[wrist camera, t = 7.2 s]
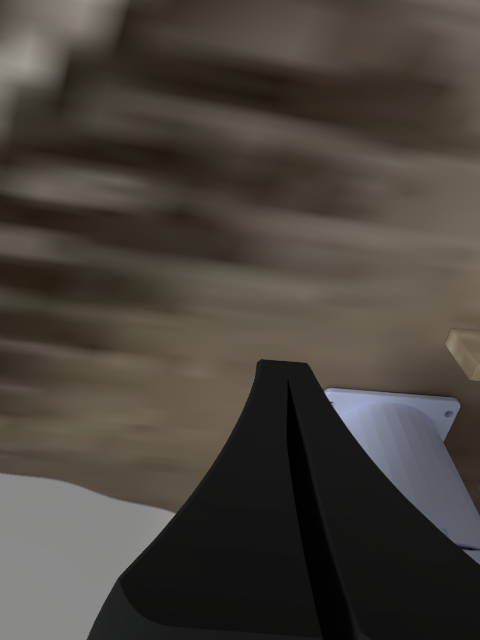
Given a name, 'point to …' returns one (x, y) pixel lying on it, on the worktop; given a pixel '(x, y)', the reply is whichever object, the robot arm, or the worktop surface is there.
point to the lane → (466, 351)
